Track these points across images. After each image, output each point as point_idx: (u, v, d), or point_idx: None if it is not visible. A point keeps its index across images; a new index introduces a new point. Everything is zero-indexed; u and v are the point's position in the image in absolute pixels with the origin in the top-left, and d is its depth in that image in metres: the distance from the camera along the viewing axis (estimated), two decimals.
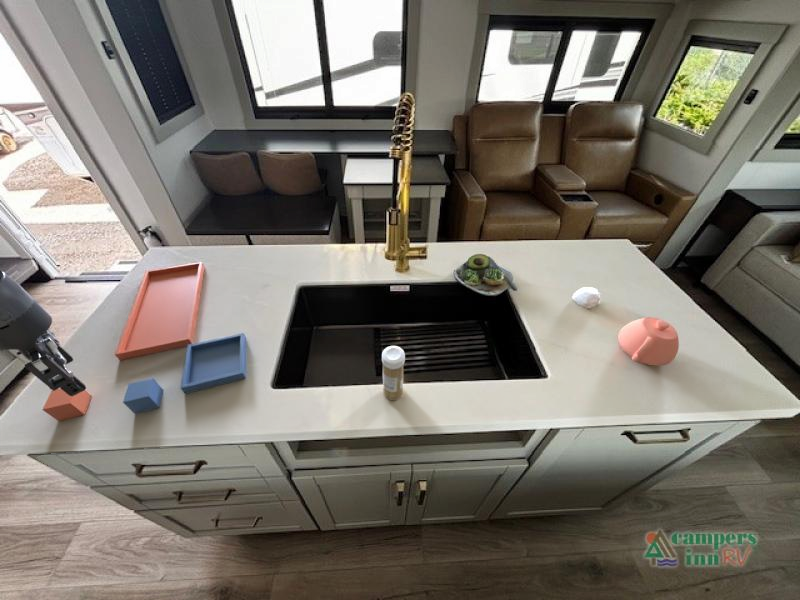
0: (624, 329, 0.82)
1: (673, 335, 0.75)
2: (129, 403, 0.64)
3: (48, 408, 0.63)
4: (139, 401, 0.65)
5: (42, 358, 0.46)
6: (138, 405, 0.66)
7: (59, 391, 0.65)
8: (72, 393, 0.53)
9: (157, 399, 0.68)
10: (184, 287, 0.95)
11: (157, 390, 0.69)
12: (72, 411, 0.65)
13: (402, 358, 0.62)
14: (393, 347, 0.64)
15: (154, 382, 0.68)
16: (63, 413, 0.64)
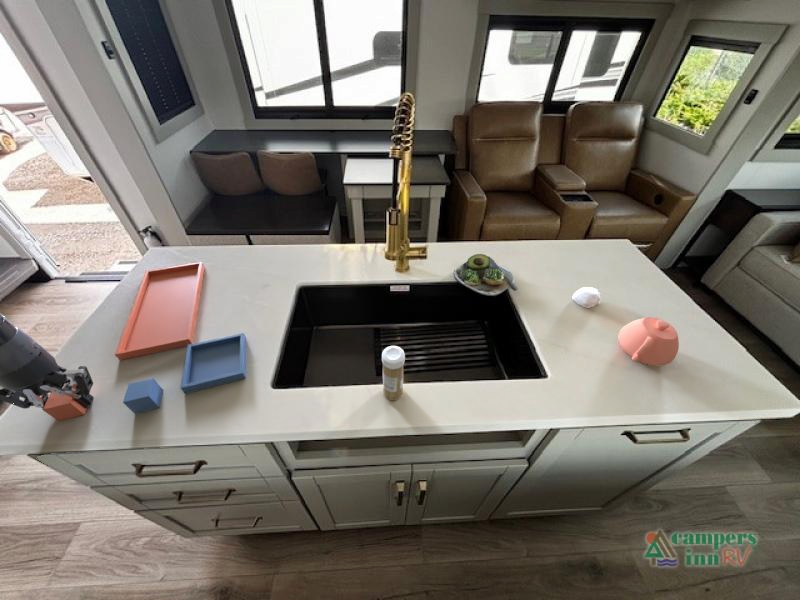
0: (624, 329, 0.82)
1: (673, 335, 0.75)
2: (129, 403, 0.64)
3: (48, 408, 0.63)
4: (139, 401, 0.65)
5: (82, 368, 0.63)
6: (138, 405, 0.66)
7: None
8: (91, 401, 0.67)
9: (157, 399, 0.68)
10: (184, 287, 0.95)
11: (157, 390, 0.69)
12: (72, 411, 0.65)
13: (402, 358, 0.62)
14: (393, 347, 0.64)
15: (154, 382, 0.68)
16: (63, 413, 0.64)
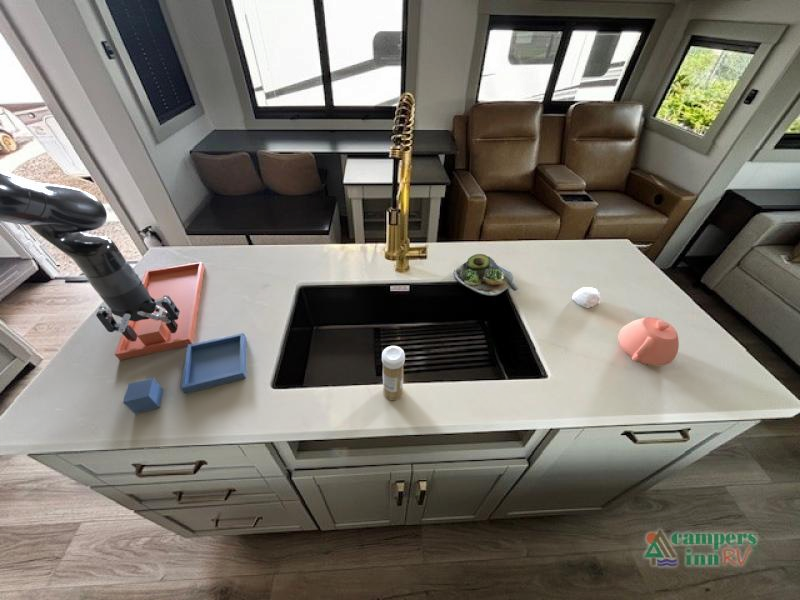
0: (624, 329, 0.81)
1: (673, 335, 0.75)
2: (129, 403, 0.64)
3: (141, 334, 0.76)
4: (139, 401, 0.65)
5: (165, 296, 0.75)
6: (138, 405, 0.66)
7: (147, 323, 0.78)
8: (176, 328, 0.80)
9: (157, 399, 0.68)
10: (184, 287, 0.95)
11: (157, 390, 0.69)
12: (159, 339, 0.78)
13: (402, 358, 0.62)
14: (393, 347, 0.64)
15: (154, 382, 0.68)
16: (151, 341, 0.78)
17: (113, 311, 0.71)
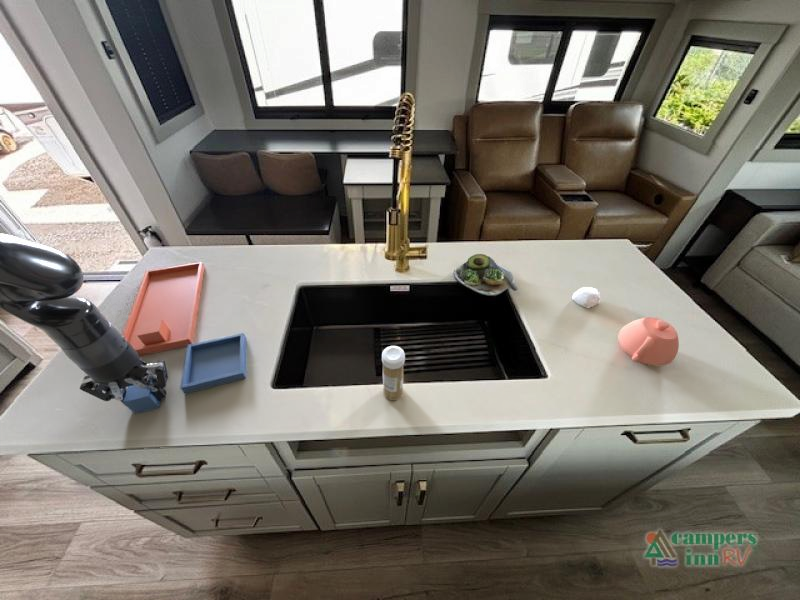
0: (624, 329, 0.81)
1: (673, 335, 0.75)
2: (129, 403, 0.64)
3: (141, 334, 0.76)
4: (139, 401, 0.65)
5: (161, 361, 0.64)
6: (138, 405, 0.66)
7: (147, 323, 0.78)
8: (165, 395, 0.69)
9: None
10: (184, 287, 0.95)
11: None
12: (159, 339, 0.78)
13: (402, 358, 0.62)
14: (393, 347, 0.64)
15: None
16: (151, 341, 0.78)
17: None
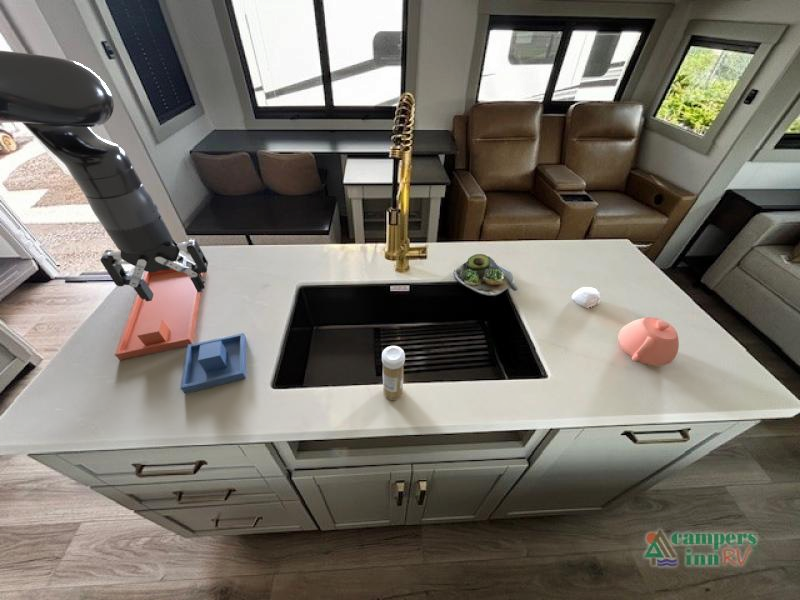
0: (624, 329, 0.81)
1: (673, 335, 0.75)
2: (202, 361, 0.72)
3: (141, 334, 0.76)
4: (211, 359, 0.72)
5: (192, 239, 0.57)
6: (210, 364, 0.73)
7: (147, 323, 0.78)
8: (204, 285, 0.62)
9: (225, 360, 0.75)
10: (184, 287, 0.95)
11: (224, 351, 0.76)
12: (159, 339, 0.78)
13: (402, 358, 0.62)
14: (393, 347, 0.64)
15: (222, 344, 0.75)
16: (151, 341, 0.78)
17: (123, 256, 0.53)
